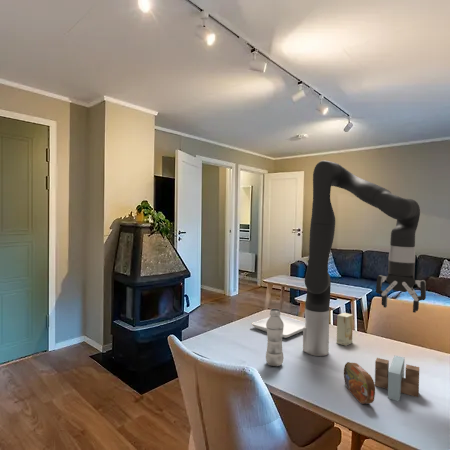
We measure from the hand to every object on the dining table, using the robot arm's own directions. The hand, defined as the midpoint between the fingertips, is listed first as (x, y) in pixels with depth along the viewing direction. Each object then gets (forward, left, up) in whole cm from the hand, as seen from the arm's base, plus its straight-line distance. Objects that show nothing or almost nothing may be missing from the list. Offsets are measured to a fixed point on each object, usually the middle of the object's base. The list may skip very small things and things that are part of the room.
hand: (399, 309), depth 108 cm
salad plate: (-52, +25, -25) cm, 62 cm away
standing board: (0, -5, -24) cm, 24 cm away
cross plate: (0, -6, -24) cm, 25 cm away
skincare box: (-23, +25, -24) cm, 41 cm away
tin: (-9, -16, -24) cm, 30 cm away
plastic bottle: (-39, -11, -24) cm, 47 cm away
